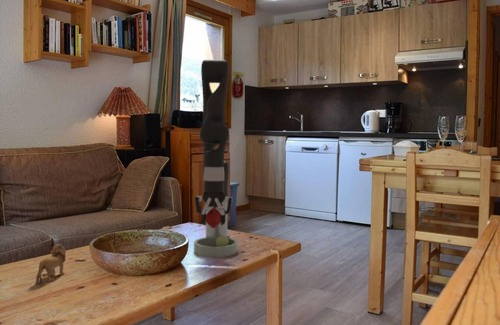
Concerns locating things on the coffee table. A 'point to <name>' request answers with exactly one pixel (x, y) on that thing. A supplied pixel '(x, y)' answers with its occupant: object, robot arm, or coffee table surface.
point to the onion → (213, 217)
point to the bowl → (214, 247)
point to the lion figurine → (52, 263)
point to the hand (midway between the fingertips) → (213, 224)
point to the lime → (222, 241)
